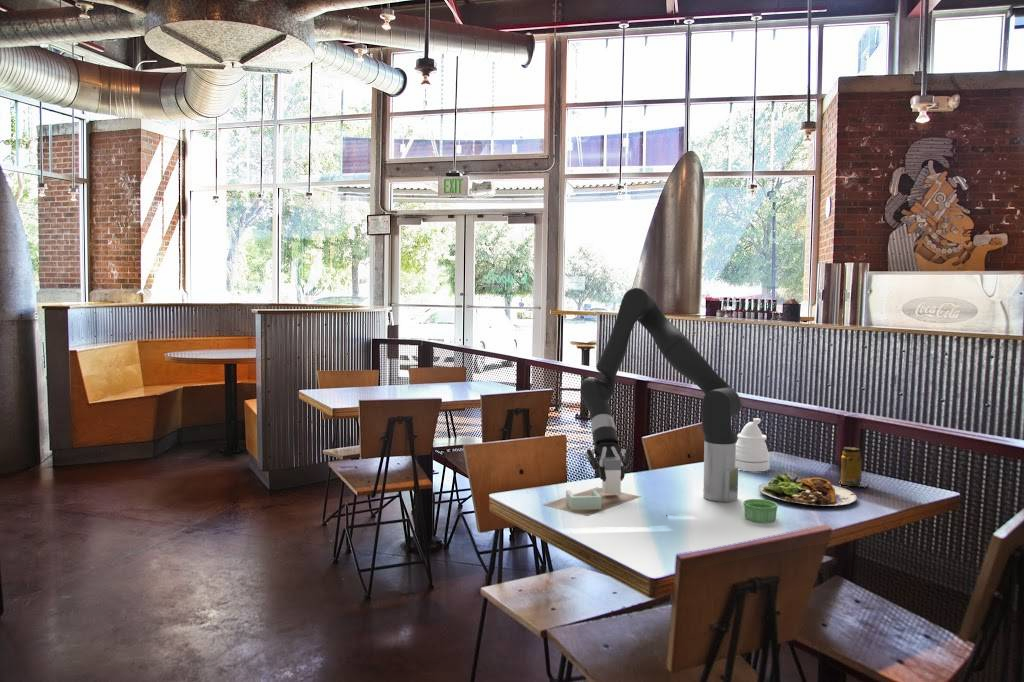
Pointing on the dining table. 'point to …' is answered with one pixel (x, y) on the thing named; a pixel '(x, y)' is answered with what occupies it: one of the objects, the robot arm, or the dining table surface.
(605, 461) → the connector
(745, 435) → the honey pot
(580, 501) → the end holder
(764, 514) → the ramekin
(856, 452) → the condiment
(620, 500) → the board
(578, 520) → the dining table surface
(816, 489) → the plate of food
